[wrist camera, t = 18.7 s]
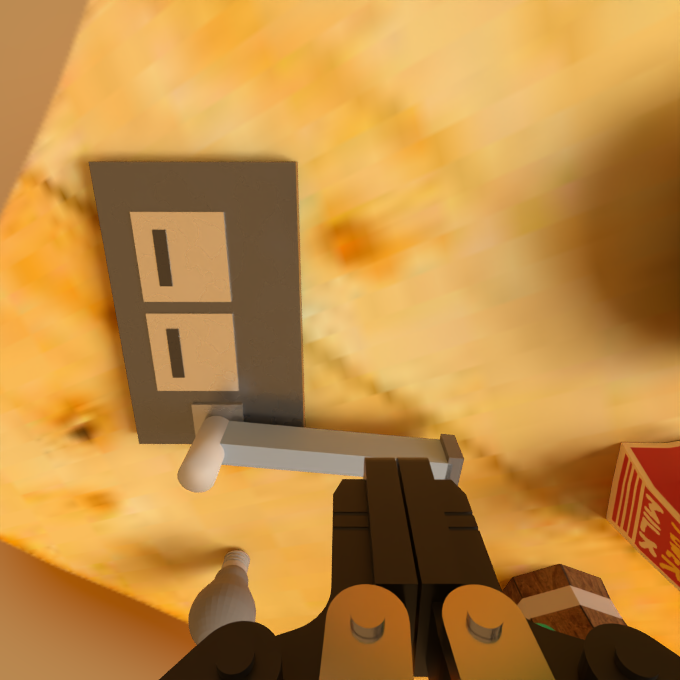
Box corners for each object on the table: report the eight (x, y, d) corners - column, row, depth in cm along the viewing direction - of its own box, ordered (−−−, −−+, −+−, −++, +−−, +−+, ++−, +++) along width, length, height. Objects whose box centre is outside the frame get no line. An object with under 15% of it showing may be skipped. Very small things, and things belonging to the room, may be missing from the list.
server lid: (99, 161, 36) (86, 161, 34) (297, 161, 36) (295, 162, 34) (146, 435, 45) (138, 447, 43) (305, 436, 45) (304, 447, 43)
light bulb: (251, 526, 48) (230, 615, 39) (275, 567, 51) (261, 661, 41) (199, 543, 49) (166, 634, 40) (225, 583, 51) (200, 678, 42)
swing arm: (201, 443, 42) (177, 492, 36) (201, 412, 41) (177, 457, 35) (447, 465, 43) (465, 517, 37) (454, 435, 42) (474, 483, 36)
